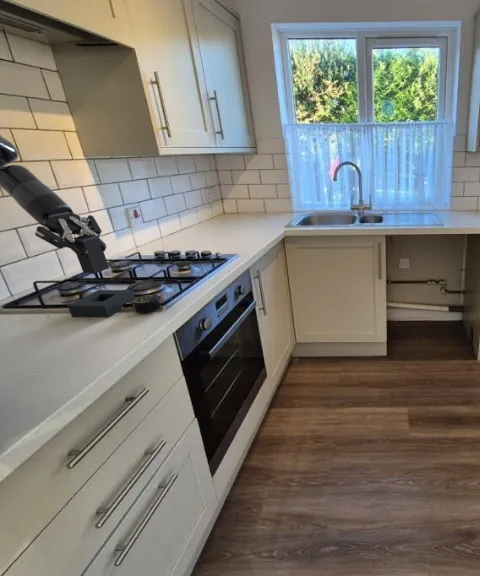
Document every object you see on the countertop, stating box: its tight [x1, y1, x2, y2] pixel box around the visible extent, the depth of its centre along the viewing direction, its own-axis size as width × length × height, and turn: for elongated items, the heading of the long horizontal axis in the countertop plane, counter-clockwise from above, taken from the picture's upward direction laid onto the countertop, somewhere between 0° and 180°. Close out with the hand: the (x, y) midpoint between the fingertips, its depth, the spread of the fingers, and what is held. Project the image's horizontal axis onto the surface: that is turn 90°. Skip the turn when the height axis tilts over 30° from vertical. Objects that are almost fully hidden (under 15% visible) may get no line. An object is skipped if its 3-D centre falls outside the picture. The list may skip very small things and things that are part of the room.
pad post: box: [73, 234, 110, 274], centre depth 93 cm, size 4×4×9 cm
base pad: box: [67, 289, 136, 318], centre depth 106 cm, size 11×11×4 cm
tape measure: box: [131, 293, 161, 314], centre depth 104 cm, size 7×7×4 cm
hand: (95, 252), depth 92 cm, fingers closed on pad post, 4 cm apart
